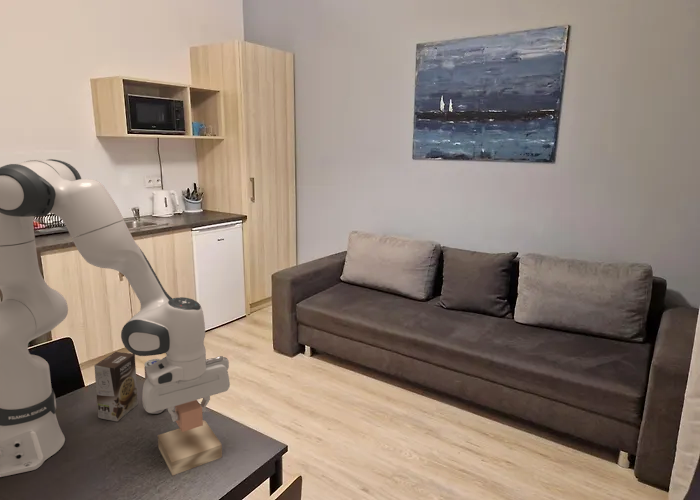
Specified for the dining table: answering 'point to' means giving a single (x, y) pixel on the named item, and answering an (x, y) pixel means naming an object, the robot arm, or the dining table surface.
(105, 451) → the dining table surface
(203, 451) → the birch block
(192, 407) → the terracotta cube
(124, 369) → the coffee box
